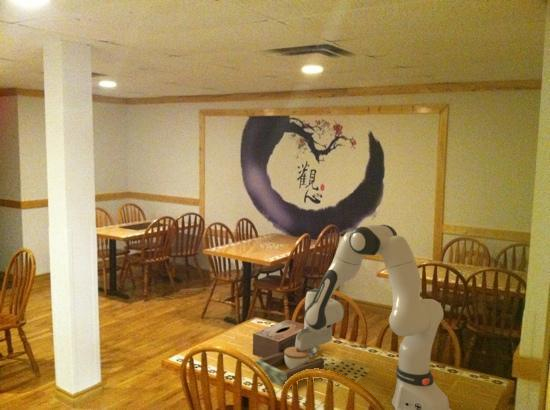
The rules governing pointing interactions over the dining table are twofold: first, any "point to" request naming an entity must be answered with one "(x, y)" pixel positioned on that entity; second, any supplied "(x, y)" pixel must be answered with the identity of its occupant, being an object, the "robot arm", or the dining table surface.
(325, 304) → the robot arm
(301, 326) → the tissue box cover
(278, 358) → the u-shaped frame
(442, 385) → the dining table surface
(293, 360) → the lidded jar
